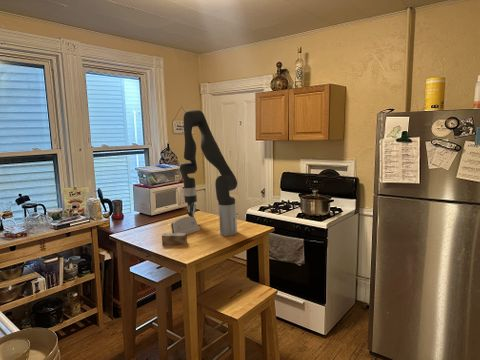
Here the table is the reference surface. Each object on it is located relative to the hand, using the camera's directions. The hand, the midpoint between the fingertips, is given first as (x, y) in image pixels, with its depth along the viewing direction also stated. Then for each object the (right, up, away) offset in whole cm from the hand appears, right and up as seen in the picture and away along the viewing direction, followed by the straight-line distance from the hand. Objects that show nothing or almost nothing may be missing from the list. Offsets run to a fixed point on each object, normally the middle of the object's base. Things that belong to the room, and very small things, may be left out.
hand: (192, 221), depth 203 cm
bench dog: (-4, -7, -35) cm, 36 cm away
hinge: (-2, -5, -16) cm, 17 cm away
